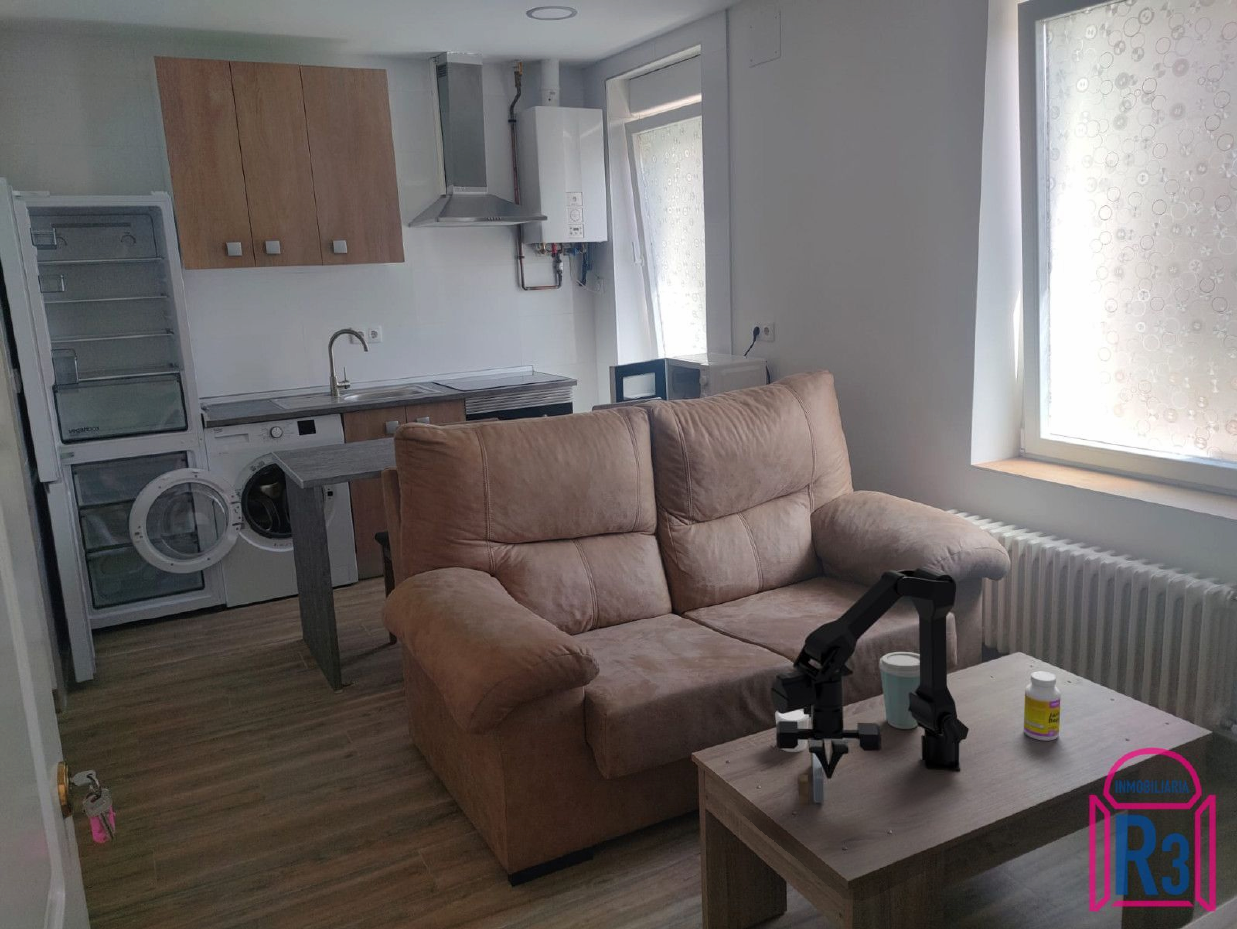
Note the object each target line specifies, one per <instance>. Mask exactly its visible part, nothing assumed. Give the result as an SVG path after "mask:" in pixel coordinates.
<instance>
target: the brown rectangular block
mask: <svg viewBox="0 0 1237 929" xmlns="http://www.w3.org/2000/svg"><path fill="white" fill-rule="evenodd" d="M809 781H810V780H809V777H808V774H799V777H798V784H797V785H798V805H810V789H809V788H810V784H809V783H810V782H809Z"/></svg>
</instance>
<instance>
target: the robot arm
mask: <svg viewBox="0 0 1237 929" xmlns="http://www.w3.org/2000/svg"><path fill="white" fill-rule="evenodd" d="M956 593H957V583H956V580H955V579H954V578H953V577H952V576H951V575H949V574H946V573H944V572H940V571H938V570H935V569H933V568H931V567H928V566H926V565H925V566H919V567H917V568H916V569H903V568H902V569H900V570H893V569H892V570H886V571H884V572H883V573H882V574H881V576H880V579H879V580H878V581H877V582H876V583H874V584H873V586H872V587H871V588H870V589H868V590H867V591H866V593H865V594H864V595H862V596H861V597H860V598H859V599H858V600H857V601H856V602H855V603H853V604H852V606H850V607H849V608H848V609H847V610H846V611H845V612H844V613H843V614H841V616H839V617H838V618H837V619H836V620H833V621H830V622H827V623H823V624H821V625H820V626H819V627H817V628H816V629H814V630H813V631H812V632H810V633H809V634H808V635H807V637H806V638H805V640H804V645H803V646H802V648H801V649H800V652H799V653H798V655H797V658H796V659H795V661H794V663H793V664H792V668H794V669H795V670H796V671H793V672H792V671H791V672H789V673H780V674H777V675H776V677H775V679H776V680H775V681H774V682H773V683H772V684H771V688H770V689H769V691H770V692H769V694H770V699H771V703H772V705H773V707H774V708H775V710H776V711H778V712H779V713H781V714H785V713H788V712H792V711H796V710H800V709H803V711H804V714H809V715H810V719H811V720H810V723H811V728H808V729H798V723H797V721H779V722H778V723H777V726H776V730H775V731H776V734H775V735H776V748H778V749H781V750H782V749H794V748H795V747H796V746H798V740H807V745H808V752H809V753H810V754H811V753H814V754H815V755H816V757H817V758H818V760H819V761H820V763H821V765H822V771H823V773H824V774H825V777H826V779H828V780H831V779H832V778H833V775H834V773H835V770H836V767H837V765H838V763H840V761H841V758H842V757H843V755H847V754H848V755H849V753H850V749H849V744H850V742H859V744H858V745H859V747H860V748H861V749H862V751H867V752H868V751H869V752H870V751H872V752H880V751H881V750H882V748H883V747H882V745H883V743H882V740H883V739H882V735H881V729H880V726H879V724H877V723H876V722H857V724H856V729H847V728H846V727H845V726H844V724H845V723H844V687H843V686H844V684H843V682H844V681H843V678H844V677H848V676H852V675H853V674H854V671H853V669H850V668H849V667H848V666H847V665H846V663H847V662H848V660H849V659H850V658H851V657H852V655H853V654H854V652H855V651H856V646H857V643H858V641H859V639H860V638H861V637H862V636H863V635H864V634H865V633H866V632H867V631H868V630H870V628H871V627H872V626H874V624H876V622H877V621H879V619H881V618H882V617H883V616H884V615H885V614H886V613H887V612H888V611H889V610H890V609H891V608H892V607H893V606H894V605H895V604H896V603H897V602H898V601H900V600H901V599H902V597H910V599H911V602H912V604H913V605H914V608H915V609H916V612H917V615H918V630H919V631H918V632H919V633H918V637H919V639H918V640H919V641H918V643H919V645H918V646H919V654H920V685H919V686H918V687H917V689H916V690H915V692H910V693H909V702H910V703H909V708H908V711H910V712H911V715H912V717H913V718H914V719H915V720H916V721H917V724H918V725H917V726H918V727H919V728H921V729H924V730H923V732H924V734H922V735H921V736H920V739H921V740H920V754H921V756H920V757H921V760H922V761H923V762H924V767H925V768H926V769H931V770H932V769H935V770H936V769H937V770H952V771H960V770H961V768H962V767H961V763H960V744H961V742H962V741H964V740H966V739H967V737H968V733H969V730H970V729H969V727H967V725H965V723H963V722H962V721H961V720H960V719H959V718H958V713H957V706H956V702H955V699H954V698H953V695H952V693H951V692H950V690H949V688H948V659H947V658H948V656H947V655H948V653H947V651H948V650H947V646H948V645H947V643H948V642H947V638H948V637H947V618H948V617H947V616H948V615H949V613H950V612H951V610H952V609H953V608H954V605H955V602H956ZM810 661H812V662H814V663H816V664H817V665H819V666H820V667H816V666H815V665H812V664H811V663H810ZM826 741H830V746H829V747H830V749H829V758H828V753H827V748H826Z"/></svg>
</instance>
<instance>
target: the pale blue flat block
mask: <svg viewBox="0 0 1237 929" xmlns="http://www.w3.org/2000/svg"><path fill="white" fill-rule="evenodd" d="M810 766H811V767H812V775H813V776H812V777H813V778H812V780H813V802H814V803H819V804H820V803H821V804H825V778H824V777H825V776H824V774H825V772H824V771H823V767H822V765H821V763H820V761H819V760H818V758H817V757H816V755H815V754H814V753H810Z"/></svg>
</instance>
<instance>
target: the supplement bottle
mask: <svg viewBox="0 0 1237 929" xmlns="http://www.w3.org/2000/svg"><path fill="white" fill-rule="evenodd" d="M1030 682H1031V683H1029V684H1027V686H1026V687H1025V689H1024V710H1023V711H1024V712H1023V731H1024V733H1025V735H1027V736H1028V737H1029V738H1032V739H1034V740H1038V741H1045V742H1046V741H1048V742H1049V741H1054V740H1055V739H1057V738H1058V737H1059V736H1060V721H1061V720H1060V719H1061V718H1060V716H1061V714H1060V713H1061V698H1062V697H1061V695H1062V694H1061V691H1060V690H1059V689H1058V687H1057V686H1056V684H1057V677H1056V675H1054V674H1053V673H1052V672H1048V671H1041V670H1039V671H1034V672H1032V673H1031V674H1030Z"/></svg>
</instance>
